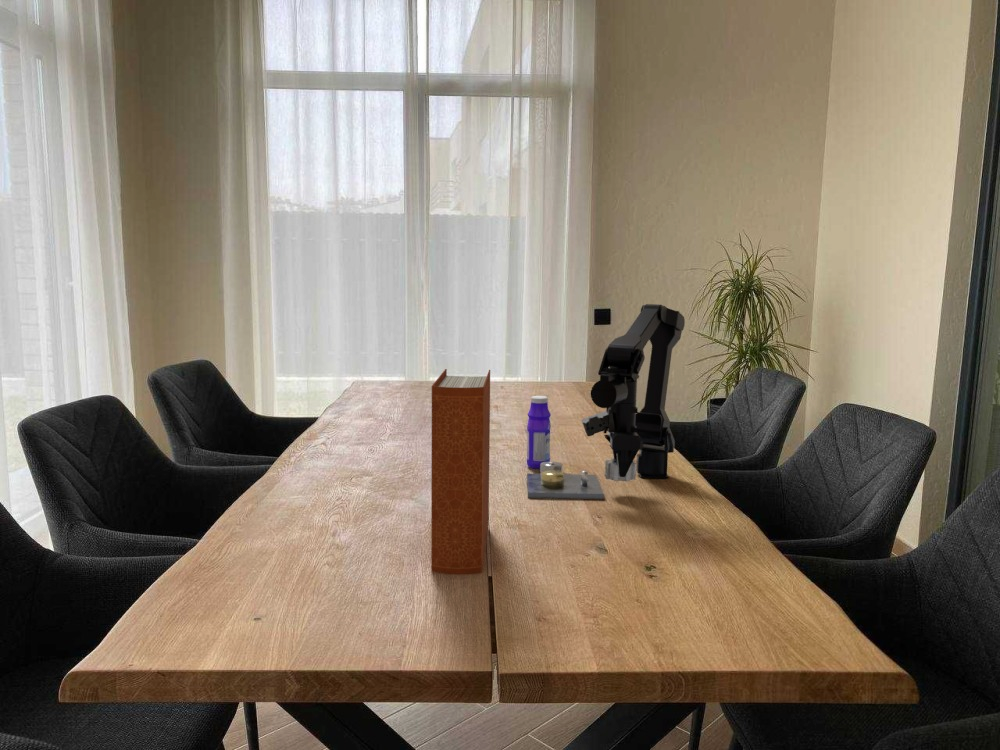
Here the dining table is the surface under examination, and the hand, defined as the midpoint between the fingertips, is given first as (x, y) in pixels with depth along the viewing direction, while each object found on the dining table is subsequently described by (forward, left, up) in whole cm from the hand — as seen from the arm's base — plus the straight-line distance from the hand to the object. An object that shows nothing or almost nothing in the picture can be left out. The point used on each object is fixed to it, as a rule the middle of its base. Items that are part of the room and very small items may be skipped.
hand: (620, 472), depth 172 cm
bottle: (+17, -24, -5) cm, 30 cm away
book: (+32, +36, -5) cm, 48 cm away
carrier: (+12, -4, -5) cm, 13 cm away
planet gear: (0, 0, -1) cm, 1 cm away
